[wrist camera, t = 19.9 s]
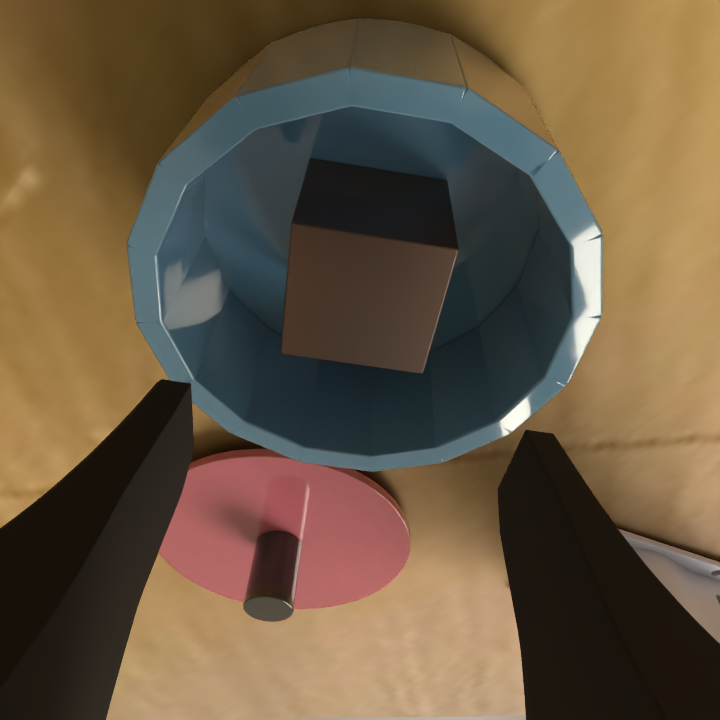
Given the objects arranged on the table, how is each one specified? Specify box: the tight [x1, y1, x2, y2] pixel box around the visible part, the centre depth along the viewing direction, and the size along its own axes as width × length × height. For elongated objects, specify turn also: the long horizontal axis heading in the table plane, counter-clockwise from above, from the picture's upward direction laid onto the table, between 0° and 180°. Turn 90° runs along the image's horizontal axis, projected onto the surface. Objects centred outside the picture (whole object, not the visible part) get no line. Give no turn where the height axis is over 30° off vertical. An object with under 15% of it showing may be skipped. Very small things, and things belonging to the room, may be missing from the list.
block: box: [280, 158, 459, 374], centre depth 19 cm, size 4×4×4 cm
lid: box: [159, 449, 410, 622], centre depth 30 cm, size 14×14×5 cm
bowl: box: [127, 18, 603, 472], centre depth 19 cm, size 13×13×6 cm
